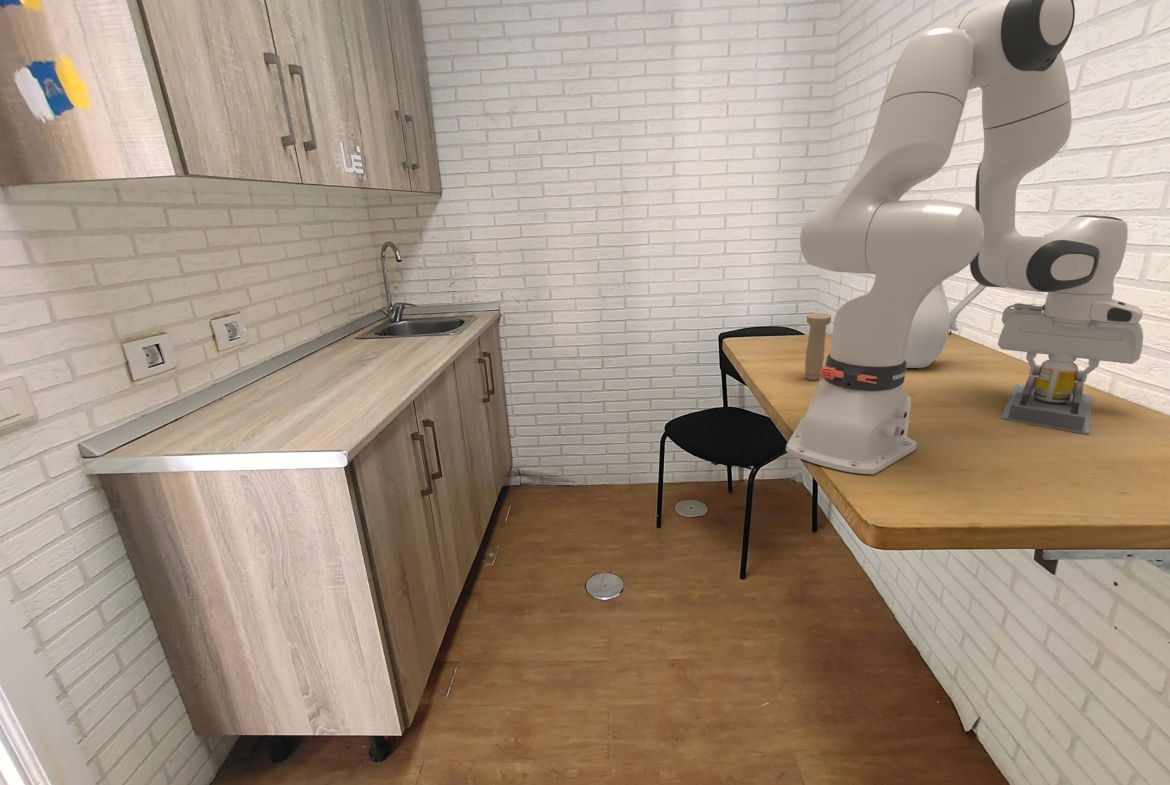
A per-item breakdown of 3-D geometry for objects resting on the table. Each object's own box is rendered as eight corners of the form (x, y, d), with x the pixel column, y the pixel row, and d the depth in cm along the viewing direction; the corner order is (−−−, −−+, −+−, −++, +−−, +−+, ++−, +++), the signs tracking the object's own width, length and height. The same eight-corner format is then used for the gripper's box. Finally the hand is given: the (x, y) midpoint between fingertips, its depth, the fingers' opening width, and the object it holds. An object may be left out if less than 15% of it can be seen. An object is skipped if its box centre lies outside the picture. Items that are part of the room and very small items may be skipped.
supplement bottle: (1030, 399, 103) (1041, 352, 100) (1037, 392, 106) (1048, 347, 103) (1065, 405, 99) (1078, 357, 96) (1072, 398, 102) (1084, 351, 99)
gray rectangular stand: (1089, 434, 89) (1093, 419, 88) (1000, 418, 97) (1004, 404, 96) (1091, 397, 105) (1095, 383, 104) (1016, 386, 113) (1019, 373, 112)
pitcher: (867, 369, 128) (884, 253, 119) (862, 352, 143) (876, 247, 134) (984, 377, 119) (1012, 252, 110) (966, 358, 134) (989, 246, 125)
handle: (826, 376, 124) (833, 314, 119) (820, 384, 119) (827, 319, 114) (804, 374, 127) (810, 312, 122) (798, 381, 122) (804, 317, 117)
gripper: (1003, 304, 101) (988, 372, 106) (1154, 315, 88) (1130, 392, 93) (1007, 300, 106) (992, 365, 110) (1152, 309, 92) (1129, 383, 97)
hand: (1056, 377), depth 101 cm, fingers closed on supplement bottle, 5 cm apart
